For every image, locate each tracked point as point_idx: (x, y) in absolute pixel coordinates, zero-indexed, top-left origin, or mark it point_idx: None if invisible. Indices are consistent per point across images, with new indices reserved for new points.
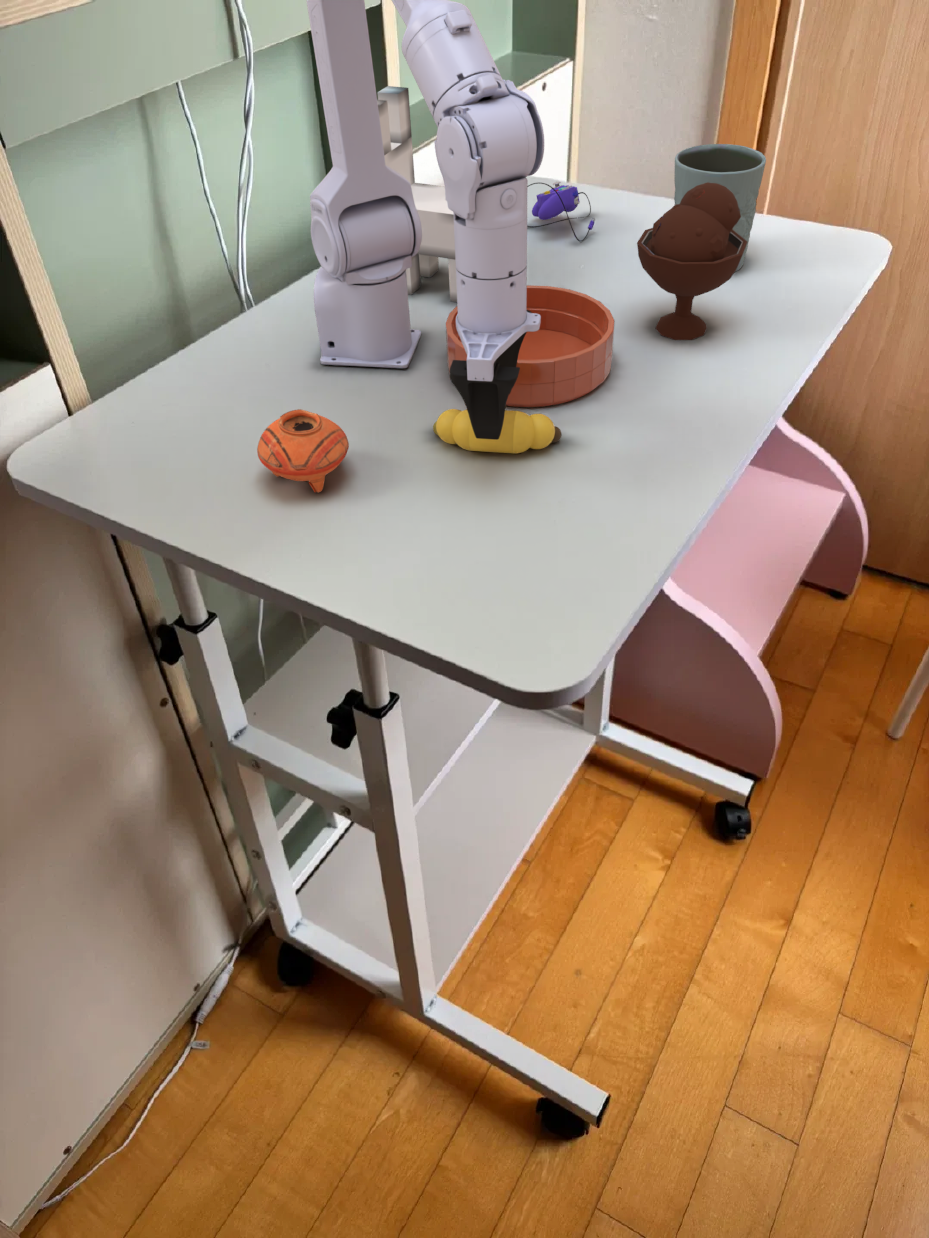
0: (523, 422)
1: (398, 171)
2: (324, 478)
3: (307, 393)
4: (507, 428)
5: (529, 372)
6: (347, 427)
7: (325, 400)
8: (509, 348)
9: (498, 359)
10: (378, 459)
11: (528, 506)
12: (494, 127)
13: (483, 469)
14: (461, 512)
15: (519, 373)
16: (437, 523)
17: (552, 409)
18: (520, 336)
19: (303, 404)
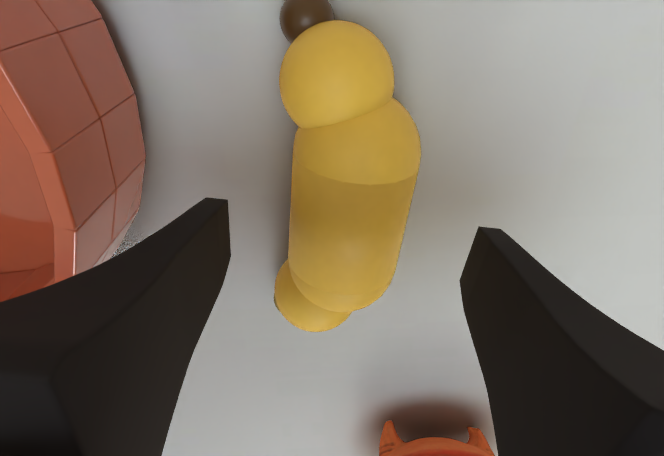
0: (387, 153)
1: None
2: (482, 446)
3: (186, 450)
4: (403, 195)
5: (77, 143)
6: (280, 407)
7: (201, 433)
8: (158, 321)
9: (183, 315)
10: (381, 368)
11: (633, 92)
12: None
13: (438, 202)
14: (600, 241)
15: (88, 173)
16: (623, 280)
17: (119, 16)
18: (116, 333)
19: (219, 452)
